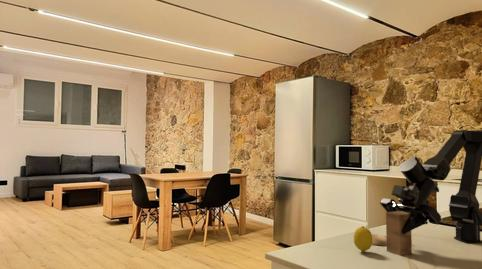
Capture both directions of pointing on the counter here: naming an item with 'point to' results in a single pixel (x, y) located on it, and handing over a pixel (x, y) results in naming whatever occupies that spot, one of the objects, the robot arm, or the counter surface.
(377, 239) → the cork trivet
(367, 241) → the lemon
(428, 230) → the counter surface
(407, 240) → the walnut block
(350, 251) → the counter surface
